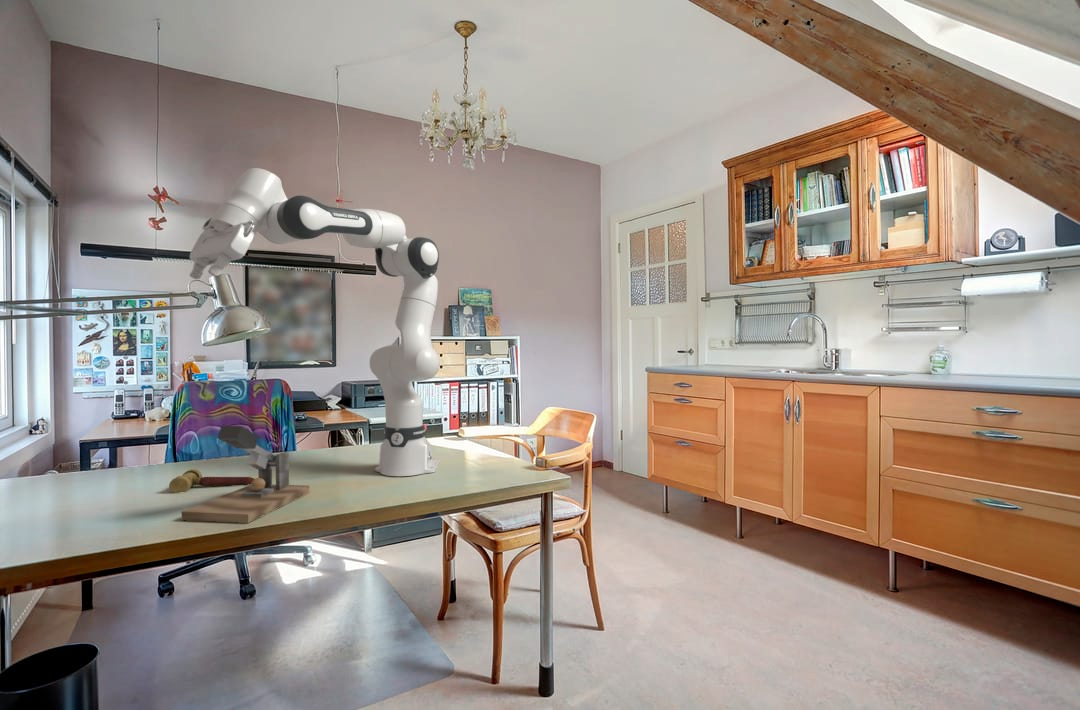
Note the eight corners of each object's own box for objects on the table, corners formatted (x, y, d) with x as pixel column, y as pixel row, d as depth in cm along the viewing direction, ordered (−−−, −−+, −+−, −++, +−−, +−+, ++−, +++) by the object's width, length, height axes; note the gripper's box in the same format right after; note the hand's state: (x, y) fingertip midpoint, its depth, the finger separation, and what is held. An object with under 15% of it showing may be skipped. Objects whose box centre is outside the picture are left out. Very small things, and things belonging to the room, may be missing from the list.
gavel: (265, 469, 154) (256, 477, 144) (264, 485, 154) (255, 494, 144) (184, 469, 149) (169, 477, 139) (183, 485, 149) (168, 494, 139)
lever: (263, 474, 137) (270, 454, 140) (281, 475, 136) (287, 454, 139) (213, 448, 119) (221, 425, 122) (233, 449, 119) (241, 426, 121)
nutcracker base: (253, 491, 141) (252, 450, 141) (309, 493, 139) (308, 451, 139) (181, 520, 117) (181, 471, 117) (248, 523, 115) (247, 473, 115)
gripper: (269, 229, 118) (238, 280, 113) (226, 240, 130) (197, 287, 125) (243, 210, 114) (210, 263, 108) (201, 223, 125) (170, 271, 120)
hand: (203, 276), depth 117 cm, fingers open, 8 cm apart
